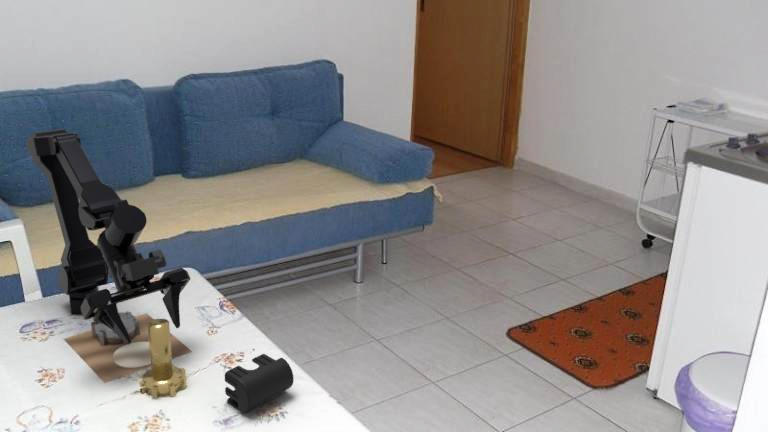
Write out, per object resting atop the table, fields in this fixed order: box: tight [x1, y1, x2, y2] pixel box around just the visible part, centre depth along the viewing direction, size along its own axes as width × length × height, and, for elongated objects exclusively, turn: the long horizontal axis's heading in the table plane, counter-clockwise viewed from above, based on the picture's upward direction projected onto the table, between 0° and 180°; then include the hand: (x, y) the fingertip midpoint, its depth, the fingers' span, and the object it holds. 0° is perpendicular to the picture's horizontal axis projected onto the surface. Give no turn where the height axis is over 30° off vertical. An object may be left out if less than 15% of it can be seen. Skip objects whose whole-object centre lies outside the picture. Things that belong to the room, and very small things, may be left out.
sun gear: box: [90, 310, 140, 347], centre depth 149 cm, size 9×8×4 cm
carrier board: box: [63, 312, 193, 384], centre depth 147 cm, size 20×17×2 cm
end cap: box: [224, 353, 295, 413], centre depth 132 cm, size 10×7×7 cm
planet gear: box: [138, 318, 187, 400], centre depth 135 cm, size 8×8×12 cm
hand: (154, 335), depth 135 cm, fingers open, 9 cm apart
